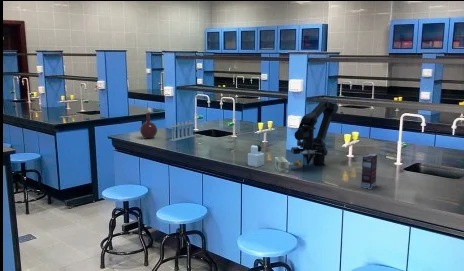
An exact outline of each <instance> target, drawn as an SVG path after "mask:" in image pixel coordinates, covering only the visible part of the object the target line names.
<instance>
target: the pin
mask: <svg viewBox="0 0 464 271" xmlns="http://www.w3.org/2000/svg"><path fill="white" fill-rule="evenodd" d="M289 167H297V169H301V168H302V161H301V159H296V162H295V161H294V162H289Z"/></svg>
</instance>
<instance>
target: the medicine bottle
mask: <svg viewBox="0 0 464 271" xmlns="http://www.w3.org/2000/svg"><path fill="white" fill-rule="evenodd" d="M247 165H248V166H250V167H256V168H259V167H261V166H264V165H265V153H264V152H262V146H261V145H260V144H252V145H251V146H250V152H248V153H247Z"/></svg>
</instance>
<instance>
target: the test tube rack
mask: <svg viewBox="0 0 464 271" xmlns="http://www.w3.org/2000/svg"><path fill="white" fill-rule="evenodd" d="M194 124H195V122H192V120H188V121H187V120H185V122H184V121H181V122H176V123H175V122H173V123H172V125H169V126H168V128H171V138H170V139H168V141H171V142H175V141H181V140H183V139H184V140H185V139H189V138H194V137H196V135H195V134H193V132H194V131H193V125H194ZM176 128H177V130H176ZM180 128H181V129H180ZM176 131H177V132H176ZM180 133H181V136H180ZM176 134H177V137H176Z"/></svg>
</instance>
